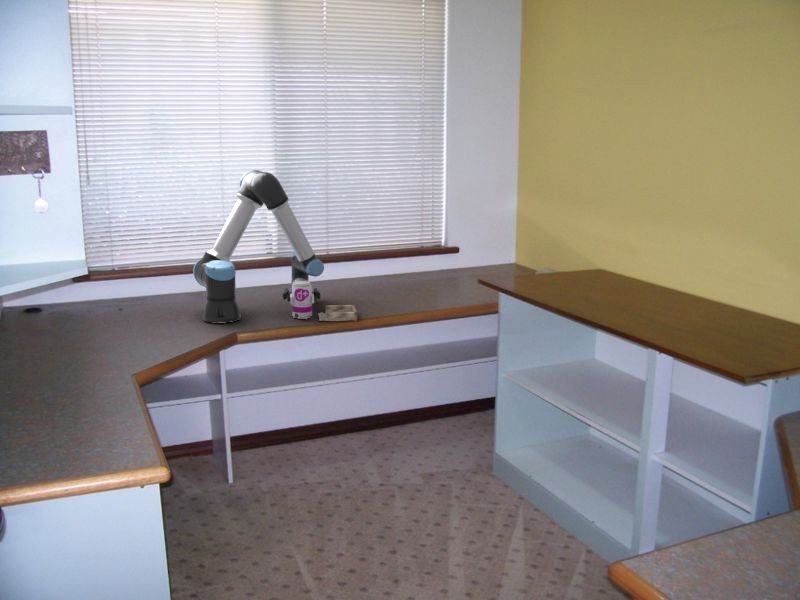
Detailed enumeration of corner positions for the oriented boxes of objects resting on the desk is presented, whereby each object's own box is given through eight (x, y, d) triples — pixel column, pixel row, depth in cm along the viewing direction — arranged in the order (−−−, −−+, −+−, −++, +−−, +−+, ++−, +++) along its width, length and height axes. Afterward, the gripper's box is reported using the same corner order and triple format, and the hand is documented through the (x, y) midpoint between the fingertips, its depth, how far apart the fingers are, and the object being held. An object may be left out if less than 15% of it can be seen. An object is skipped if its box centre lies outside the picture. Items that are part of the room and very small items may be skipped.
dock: (318, 322, 307) (318, 313, 306) (317, 312, 321) (317, 305, 320) (358, 321, 309) (358, 313, 308) (354, 312, 324) (354, 304, 323)
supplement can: (310, 320, 309) (310, 284, 305) (290, 319, 309) (290, 284, 306) (313, 315, 317) (313, 280, 313) (293, 315, 317) (293, 280, 313)
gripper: (324, 296, 331) (328, 308, 309) (276, 297, 327) (276, 309, 306) (324, 279, 329) (328, 291, 307) (276, 280, 326) (276, 291, 304)
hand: (302, 300), depth 306 cm, fingers closed on supplement can, 8 cm apart
